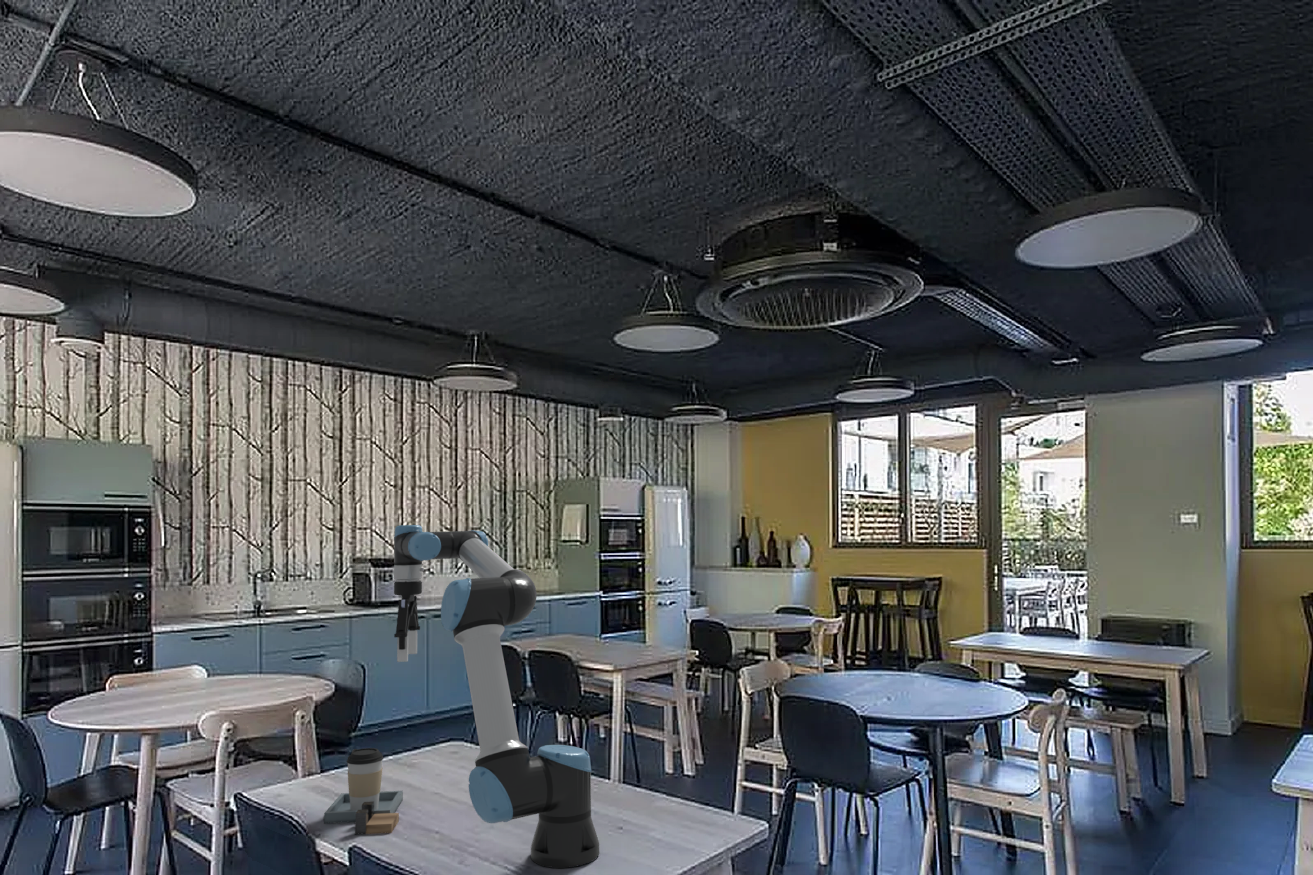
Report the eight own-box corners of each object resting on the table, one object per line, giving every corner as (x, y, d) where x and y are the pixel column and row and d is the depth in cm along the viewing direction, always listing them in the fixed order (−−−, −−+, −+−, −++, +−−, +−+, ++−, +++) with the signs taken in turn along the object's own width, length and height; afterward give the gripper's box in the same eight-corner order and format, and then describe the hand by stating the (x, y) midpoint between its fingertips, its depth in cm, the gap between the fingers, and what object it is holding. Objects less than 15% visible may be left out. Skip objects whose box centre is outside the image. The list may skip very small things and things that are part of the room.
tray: (390, 820, 220) (390, 810, 220) (324, 823, 218) (324, 813, 218) (402, 800, 235) (402, 790, 236) (341, 803, 234) (341, 793, 234)
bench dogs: (365, 834, 210) (365, 812, 210) (355, 834, 210) (355, 813, 210) (373, 822, 218) (373, 801, 219) (363, 822, 218) (364, 802, 219)
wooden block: (391, 834, 211) (391, 823, 211) (365, 835, 210) (366, 824, 211) (398, 823, 219) (398, 812, 219) (374, 824, 218) (374, 814, 218)
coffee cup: (388, 804, 230) (389, 745, 232) (374, 815, 221) (374, 754, 223) (355, 803, 231) (356, 745, 233) (339, 815, 222) (340, 754, 224)
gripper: (413, 583, 234) (412, 664, 232) (429, 577, 258) (428, 650, 256) (384, 583, 233) (383, 665, 231) (403, 577, 258) (402, 651, 256)
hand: (407, 657), depth 244 cm, fingers open, 13 cm apart
